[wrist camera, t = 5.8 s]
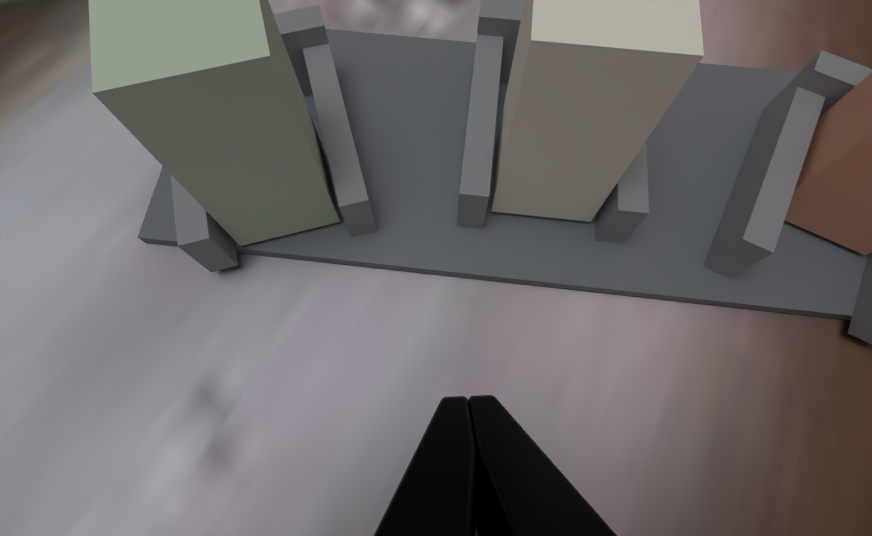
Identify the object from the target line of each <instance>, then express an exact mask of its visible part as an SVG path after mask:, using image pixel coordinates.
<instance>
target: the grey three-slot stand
mask: <svg viewBox="0 0 872 536" xmlns="http://www.w3.org/2000/svg"><path fill="white" fill-rule="evenodd" d="M524 1H525V0H481V4H480V13H479V23H478V33H477V42H476V43H472V42H461V41H450V40H439V39H428V38H417V37H406V36H395V35H384V34H373V33H363V32H352V31H341V30H330V29H325V27H324V23H323V19H322V15H321V11H320V8H319V5H318V6H313V7H308V8H303V9H298V10H293V11H289V12H284V13H279V14H274V18H275V20H276V23H277V26H278V29H279V31H280V34H281V37H282V39H283V42H284V45H285V47H286V50H287V53H288V55H289V58H290V61H291V63H292V66H293V69H294V71H295V74H296V77H297V79H298V82H299V85H300V87H301V90H302V93H303V95H304V98H305V101H306V103H307V106H308V109H309V111H310V114H311V117H312V119H313V122H314V125H315V127H316V130H317V133H318V135H319V138H320V141H321V144H322V146H323V149H324V153H325V158H326V162H327V166H328V171H329V175H330V180H331V184H332V188H333V193H334V197H335V201H336V206H337V210H338V215H339V219H340V222H337V223H333V224H329V225H325V226H321V227H317V228H313V229H309V230H304V231H300V232H296V233H292V234H288V235H284V236H280V237H276V238H272V239H268V240H263V241H259V242H255V243H251V244H247V245H243V246H240V245H239V244H238V243H237V242H236V241H235V240H234V239H233V238H232V237H231V236H230V235H229V234H228V233H227V232H226V231H225V230H224V229H223V228H222V227H221V226H220V225H219V224H218V222H217V221H216V220H215V219H214V218H213V217H212V216H211V215H210V214H209V213H208V212H207V211H206V210H205V209H204V208H203V207H202V206H201V205H200V204H199V203H198V202H197V201H196V200H195V199H194V198H193V197H192V196H191V194H190V193H189V192H188V191H187V190H186V189H185V188H184V187H183V186H182V185H181V184H180V183H179V182H178V181H177V180H176V179H175V178H174V177H173V176H172V175H171V174H170V173H169V172H168V171H167V170H166V169H165V167H164V166H163V167H162V170H161V173H160V176H159V179H158V182H157V184H156V187H155V190H154V193H153V196H152V198H151V201H150V204H149V207H148V210H147V213H146V215H145V218H144V221H143V224H142V227H141V229H140V232H139V235H138V238H139V239H141V240H142V241H144V242H145V243H154V244H163V245H172V246H178V247H180V248H181V249H182V250H184V251H185V252H186V253H187V254H189V255H190V256H191V257H192V258H194V259H195V260H196V261H197V262H199V263H200V264H201V265H203V266H204V267H205V268H206V269H208V270H209V271H210V272H214V271H218V270H222V269H226V268H230V267H234V266H238V260H237V253H244V254H253V255H263V256H272V257H281V258H290V259H299V260H308V261H317V262H326V263H335V264H344V265H353V266H362V267H371V268H380V269H390V270H399V271H408V272H417V273H426V274H435V275H444V276H453V277H462V278H471V279H480V280H489V281H498V282H507V283H517V284H526V285H535V286H544V287H553V288H562V289H571V290H580V291H589V292H598V293H607V294H616V295H625V296H634V297H644V298H653V299H662V300H671V301H680V302H689V303H698V304H707V305H716V306H725V307H734V308H743V309H752V310H761V311H771V312H780V313H789V314H798V315H807V316H816V317H825V318H834V319H843V320H851V322H850V326H849V329H848V334H850V335H852V336H855V337H857V338H859V339H861V340H863V341H865V342H867V343H870V344H872V252H871V253H869V254H867V255H863V254H861V253H858V252H856V251H854V250H852V249H849V248H847V247H845V246H842V245H840V244H838V243H836V242H833V241H831V240H829V239H826V238H824V237H822V236H820V235H817V234H815V233H813V232H810V231H808V230H806V229H803V228H801V227H799V226H797V225H794V224H792V223H790V222H787V221H785V217H786V214H787V211H788V208H789V205H790V202H791V199H792V196H793V193H794V190H795V187H796V184H797V181H798V178H799V175H800V172H801V169H802V166H803V163H804V160H805V157H806V154H807V151H808V148H809V145H810V142H811V139H812V136H813V133H814V130H815V127H816V124H817V121H818V118H819V117H821V116H822V115H823V114H824V113H825V112H826V111H827V110H829V109H830V108H831V107H832V106H833V105H834V104H836V103H837V102H838V101H839V100H840V99H841V98H843V97H844V96H845V95H846V94H847V93H848V92H849V91H851V90H852V89H853V88H854V87H855V86H856V85H858V84H859V83H860V82H861V81H862V80H863V79H865V78H866V77H867V76H868V75H869V74H870V73H871V72H872V69H870V68H867V67H865V66H862V65H859V64H857V63H854V62H851V61H849V60H846V59H843V58H841V57H838V56H835V55H833V54H830V53H827V52H825V51H822V50H821V51H820V52H819V53H818V54H817V55H816V56H815V57H814V58H813V59H812V60H811V61H810V62H809V63H808V64H807V65H806V66H805V67H804V69H803V70H802V71H801V72H790V71H779V70H768V69H757V68H746V67H735V66H724V65H713V64H702V63H699V64H698V65H697V67H696V68H695V69H694V71H693V72H692V74H691V75H690V77H689V78H688V80H687V81H686V83H685V84H684V86H683V87H682V89H681V90H680V91H679V93H678V94H677V96H676V97H675V99H674V100H673V102H672V103H671V105H670V106H669V108H668V109H667V111H666V112H665V113H664V115H663V116H662V118H661V119H660V121H659V122H658V124H657V125H656V127H655V128H654V130H653V131H652V133H651V134H650V135H649V137H648V138H647V140H646V141H645V143H644V144H643V146H642V147H641V149H640V150H639V152H638V153H637V155H636V156H635V158H634V159H633V160H632V162H631V163H630V165H629V166H628V168H627V169H626V171H625V172H624V174H623V175H622V177H621V178H620V180H619V181H618V182H617V184H616V185H615V187H614V188H613V190H612V191H611V193H610V194H609V196H608V197H607V199H606V200H605V202H604V203H603V204H602V206H601V207H600V209H599V210H598V212H597V213H596V215H595V216H594V218H593V219H592V221H591V222H587V221H578V220H568V219H558V218H549V217H539V216H530V215H520V214H511V213H501V212H492V211H491V207H492V195H493V184H494V172H495V161H496V149H497V138H498V132H499V127H500V122H501V117H502V112H503V107H504V102H505V97H506V92H507V87H508V82H509V77H510V72H511V67H512V62H513V57H514V52H515V47H516V42H517V37H518V32H519V27H520V21H521V16H522V11H523V6H524Z"/></svg>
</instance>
